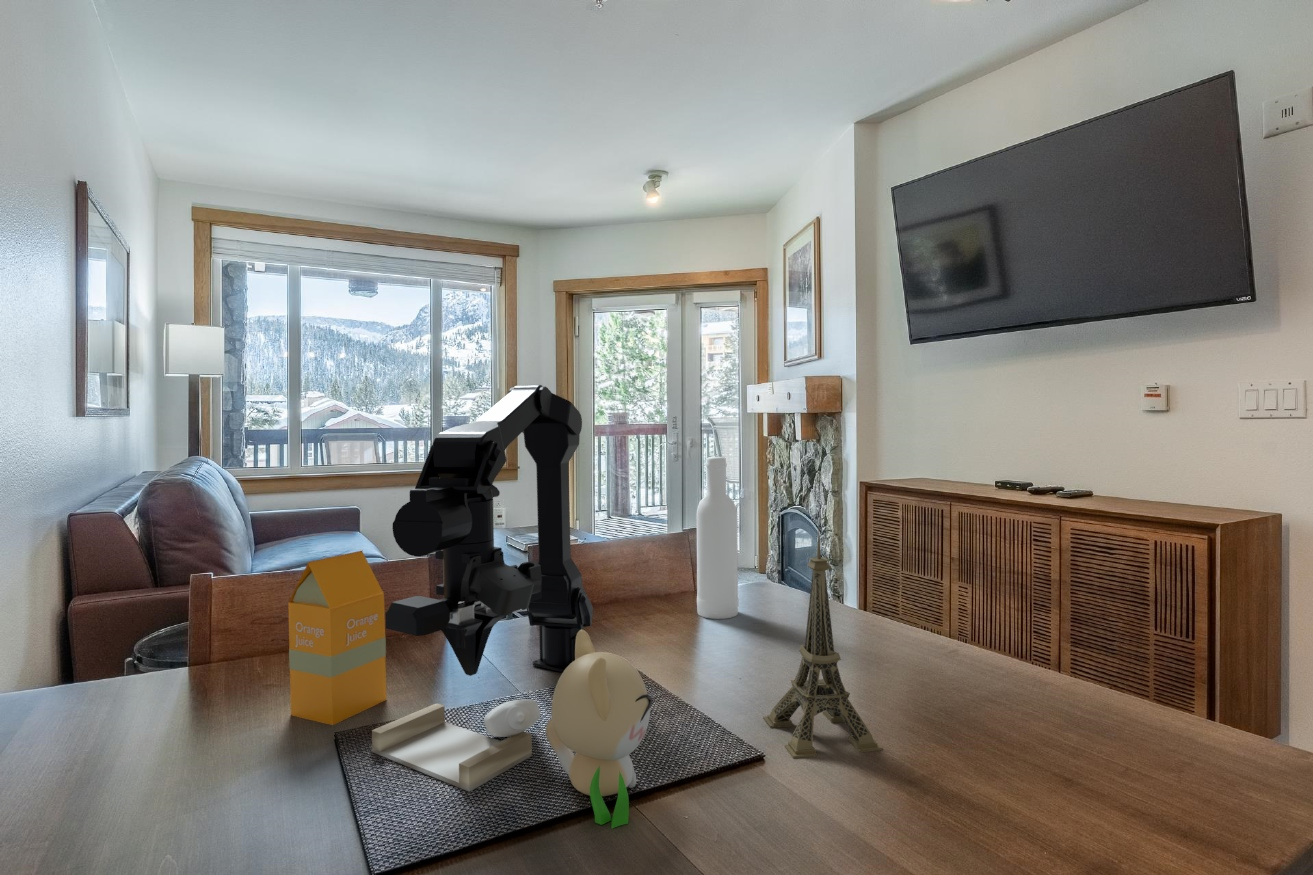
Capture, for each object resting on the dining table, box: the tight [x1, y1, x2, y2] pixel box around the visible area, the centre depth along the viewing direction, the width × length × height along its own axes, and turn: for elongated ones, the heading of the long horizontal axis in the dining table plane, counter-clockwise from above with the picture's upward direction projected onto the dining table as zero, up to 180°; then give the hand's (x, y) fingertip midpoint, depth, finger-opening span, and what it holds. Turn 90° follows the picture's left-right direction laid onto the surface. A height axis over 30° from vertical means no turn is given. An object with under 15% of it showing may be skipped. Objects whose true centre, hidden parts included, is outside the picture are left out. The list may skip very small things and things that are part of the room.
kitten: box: [545, 629, 653, 829], centre depth 71 cm, size 15×10×15 cm, turn 17°
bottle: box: [696, 456, 739, 620], centre depth 135 cm, size 8×8×30 cm
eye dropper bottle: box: [483, 698, 541, 738], centre depth 80 cm, size 4×6×12 cm
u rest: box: [371, 703, 533, 792], centre depth 80 cm, size 16×9×2 cm, turn 56°
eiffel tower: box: [762, 523, 884, 759], centre depth 84 cm, size 11×11×25 cm
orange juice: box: [287, 550, 387, 726], centre depth 93 cm, size 8×9×20 cm
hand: (471, 674), depth 82 cm, fingers closed
